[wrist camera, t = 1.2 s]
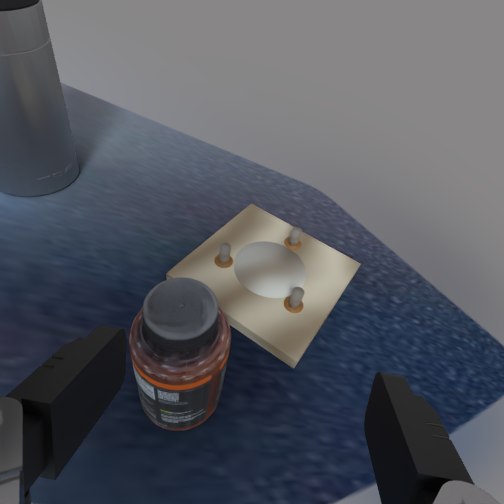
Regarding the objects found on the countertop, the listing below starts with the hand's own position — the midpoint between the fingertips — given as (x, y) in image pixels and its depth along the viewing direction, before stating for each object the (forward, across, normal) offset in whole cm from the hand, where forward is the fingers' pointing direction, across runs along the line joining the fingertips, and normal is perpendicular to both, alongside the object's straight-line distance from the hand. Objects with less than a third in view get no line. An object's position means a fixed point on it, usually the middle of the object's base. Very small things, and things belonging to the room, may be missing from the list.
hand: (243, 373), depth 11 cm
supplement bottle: (+12, +5, +12) cm, 18 cm away
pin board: (+24, 0, +6) cm, 25 cm away
